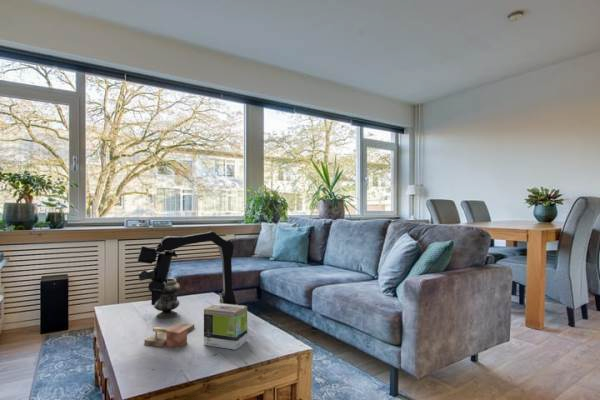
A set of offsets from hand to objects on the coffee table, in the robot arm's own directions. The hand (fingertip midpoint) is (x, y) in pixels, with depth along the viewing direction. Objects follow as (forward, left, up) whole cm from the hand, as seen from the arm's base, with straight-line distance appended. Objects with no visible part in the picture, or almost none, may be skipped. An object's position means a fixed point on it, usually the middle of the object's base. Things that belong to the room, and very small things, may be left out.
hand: (153, 302), depth 142 cm
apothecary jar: (+13, -25, -15) cm, 32 cm away
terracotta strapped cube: (-10, +3, -15) cm, 18 cm away
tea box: (-32, -4, -15) cm, 36 cm away
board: (-6, -4, -15) cm, 16 cm away
